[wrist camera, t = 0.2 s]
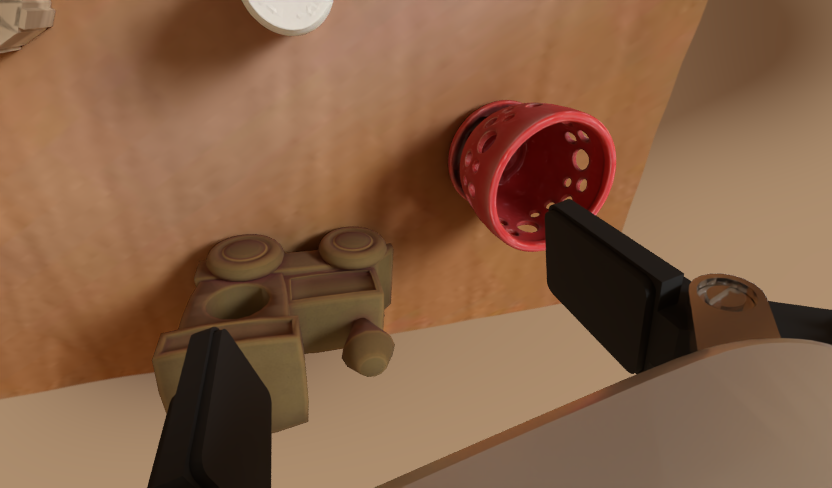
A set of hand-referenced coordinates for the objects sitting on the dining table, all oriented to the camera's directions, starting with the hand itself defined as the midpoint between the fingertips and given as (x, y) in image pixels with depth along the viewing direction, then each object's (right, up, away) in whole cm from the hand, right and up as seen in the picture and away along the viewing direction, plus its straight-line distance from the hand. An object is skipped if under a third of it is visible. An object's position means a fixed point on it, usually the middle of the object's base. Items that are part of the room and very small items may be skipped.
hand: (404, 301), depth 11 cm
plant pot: (+9, +12, +34) cm, 37 cm away
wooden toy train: (-13, -1, +34) cm, 36 cm away
